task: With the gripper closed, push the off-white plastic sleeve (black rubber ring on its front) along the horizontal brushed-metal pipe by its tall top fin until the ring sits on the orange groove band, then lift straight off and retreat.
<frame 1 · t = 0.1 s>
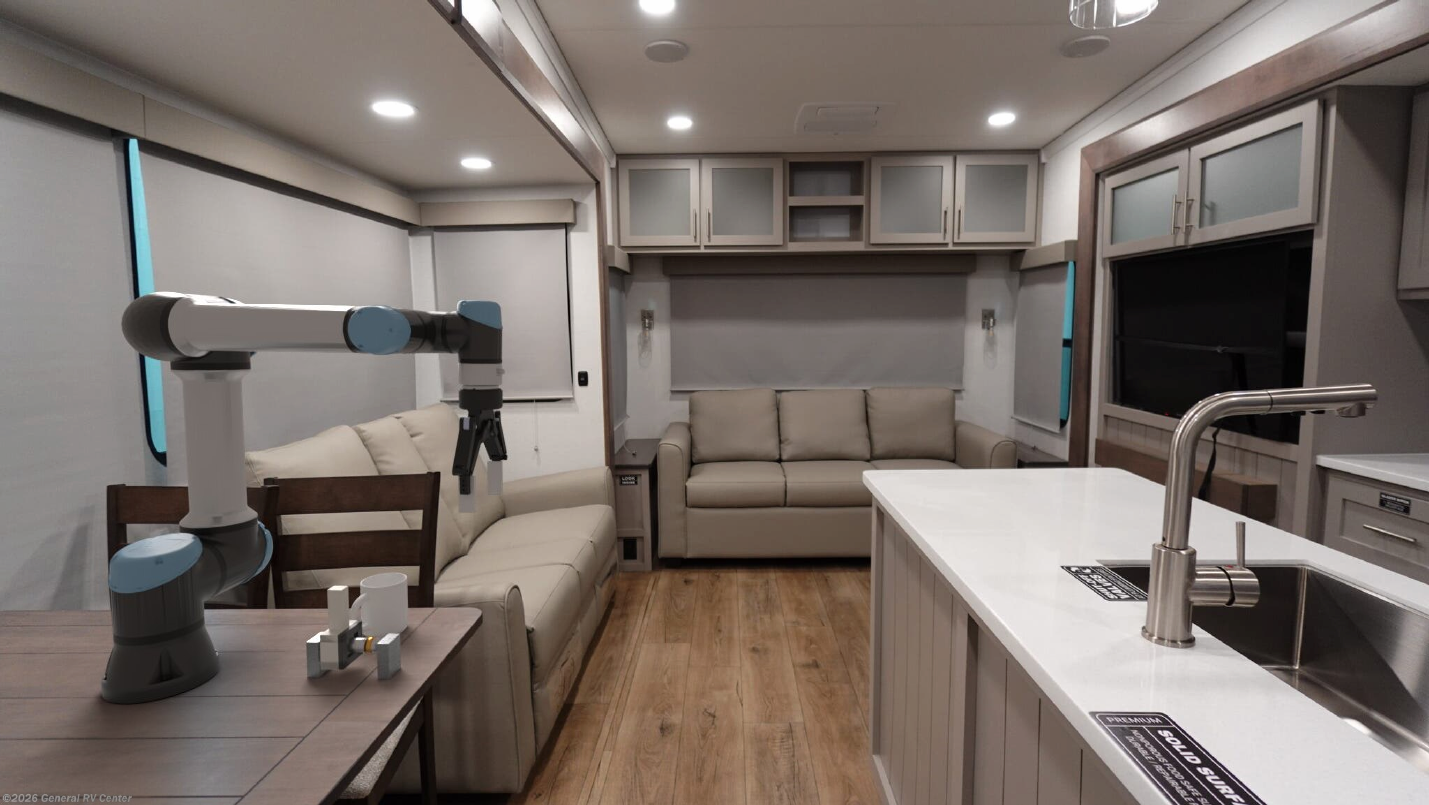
hand: (482, 503, 120), 28 cm above the table, fingers open, 13 cm apart
mug: (377, 635, 129), on the table
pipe: (354, 672, 113), on the table
sleeve: (341, 624, 113), point 8 cm above the table, slide at 0.0 cm
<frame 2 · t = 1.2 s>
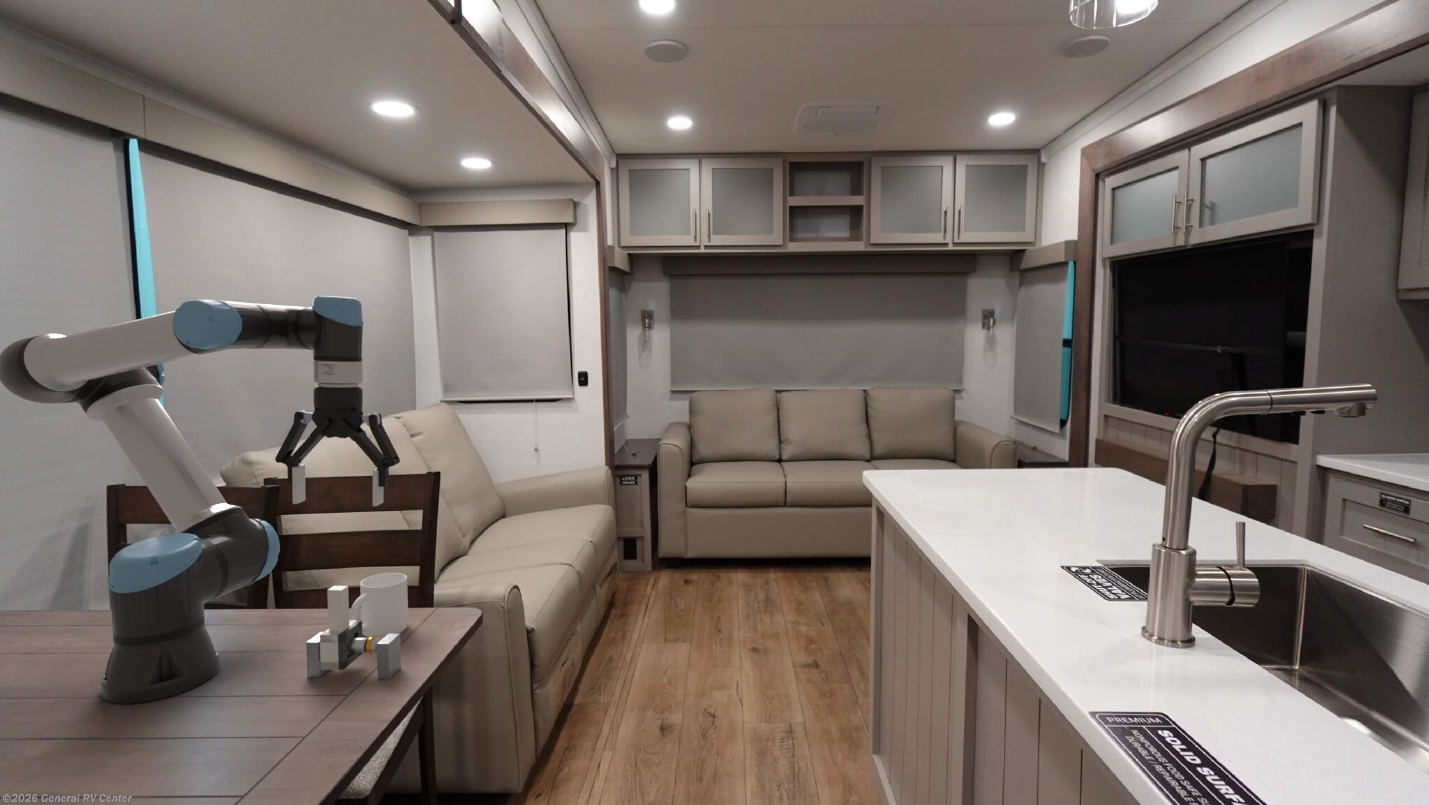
hand: (338, 503, 118), 28 cm above the table, fingers open, 13 cm apart
nothing on the table moved.
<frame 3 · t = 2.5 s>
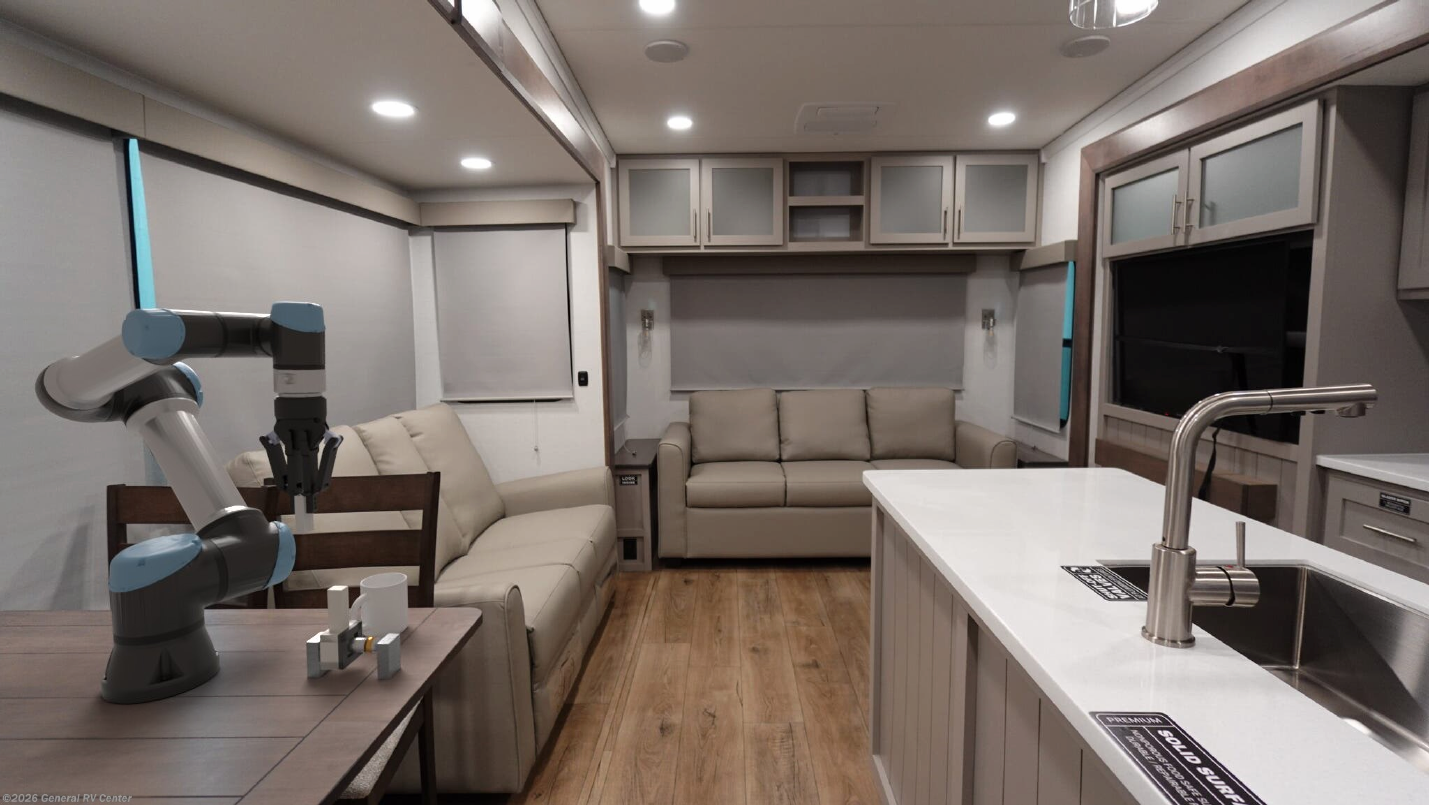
hand: (304, 531, 113), 24 cm above the table, fingers closed
nothing on the table moved.
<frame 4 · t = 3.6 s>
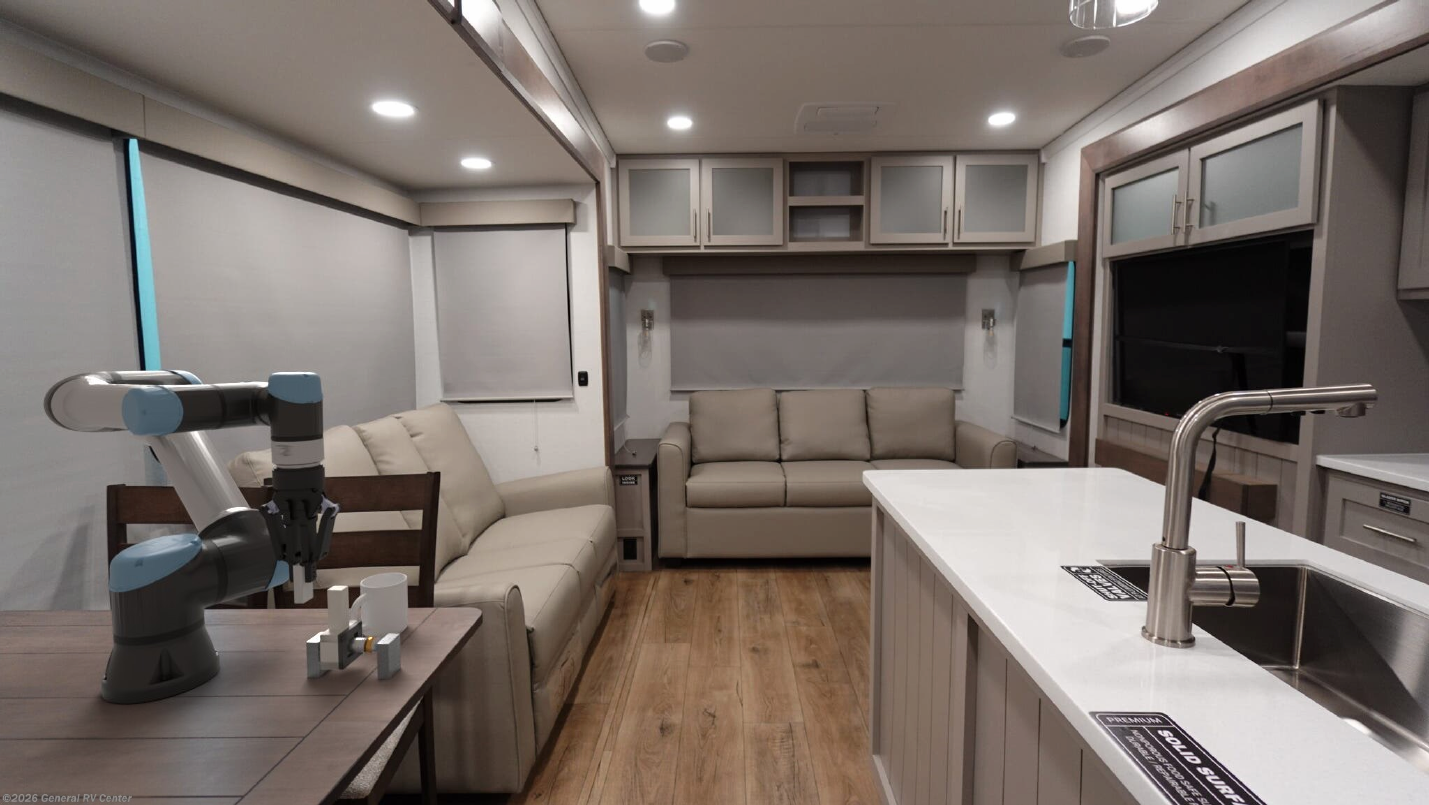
hand: (303, 600, 112), 13 cm above the table, fingers closed
nothing on the table moved.
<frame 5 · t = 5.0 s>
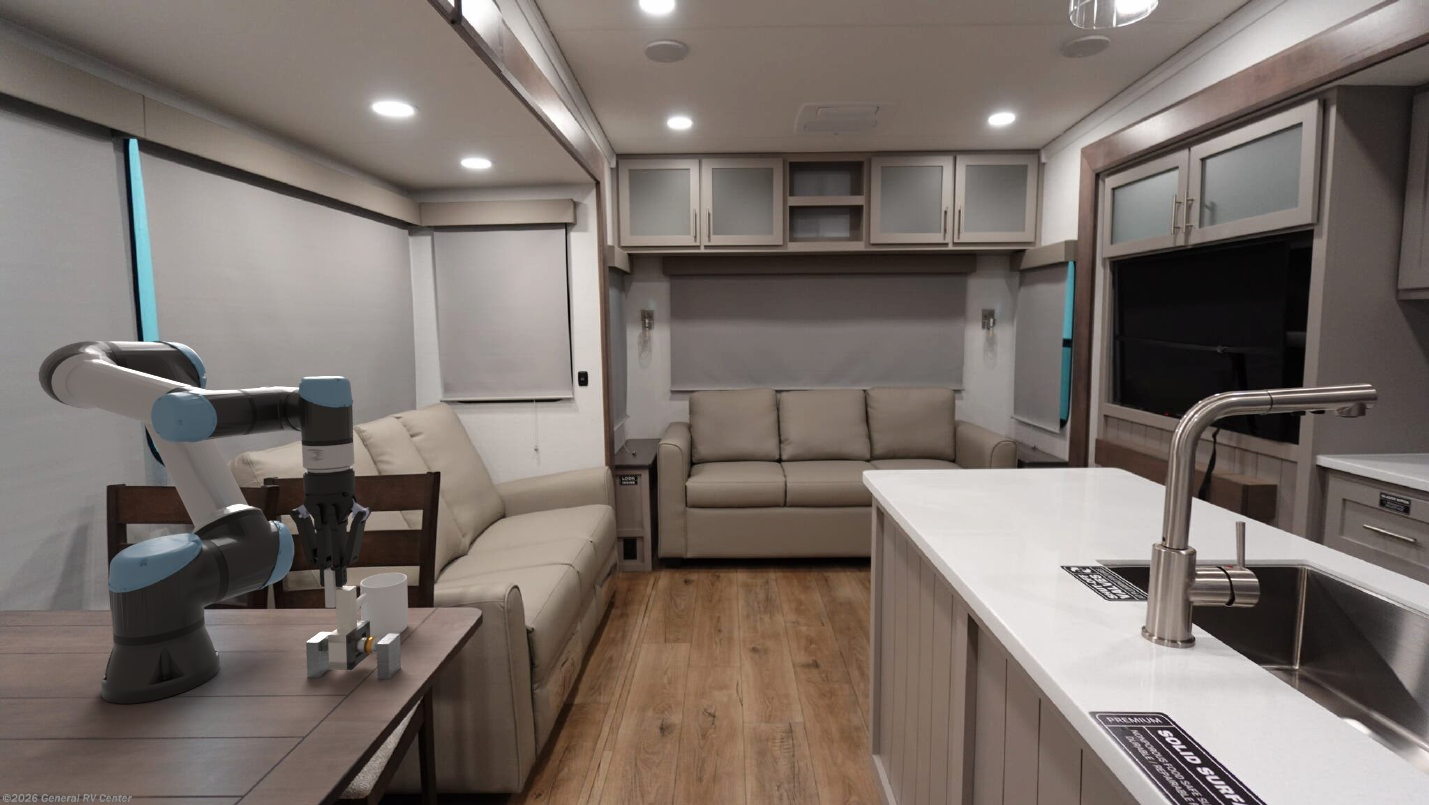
hand: (334, 604, 112), 12 cm above the table, fingers closed
sleeve: (349, 624, 113), point 9 cm above the table, slide at 1.4 cm, touching gripper
everything else where it was.
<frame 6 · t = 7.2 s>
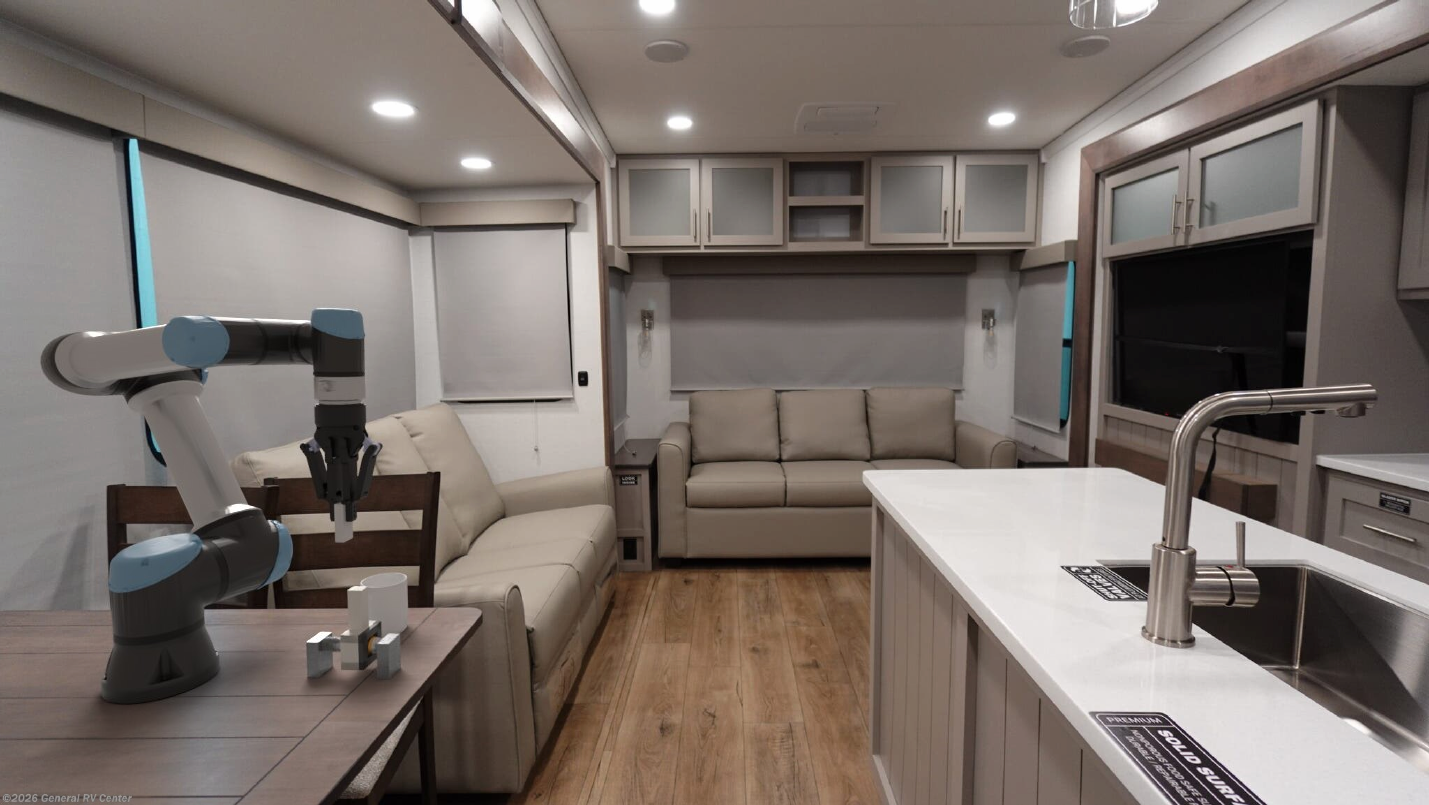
hand: (344, 539, 111), 23 cm above the table, fingers closed
sleeve: (361, 625, 113), point 8 cm above the table, slide at 3.4 cm
everything else where it was.
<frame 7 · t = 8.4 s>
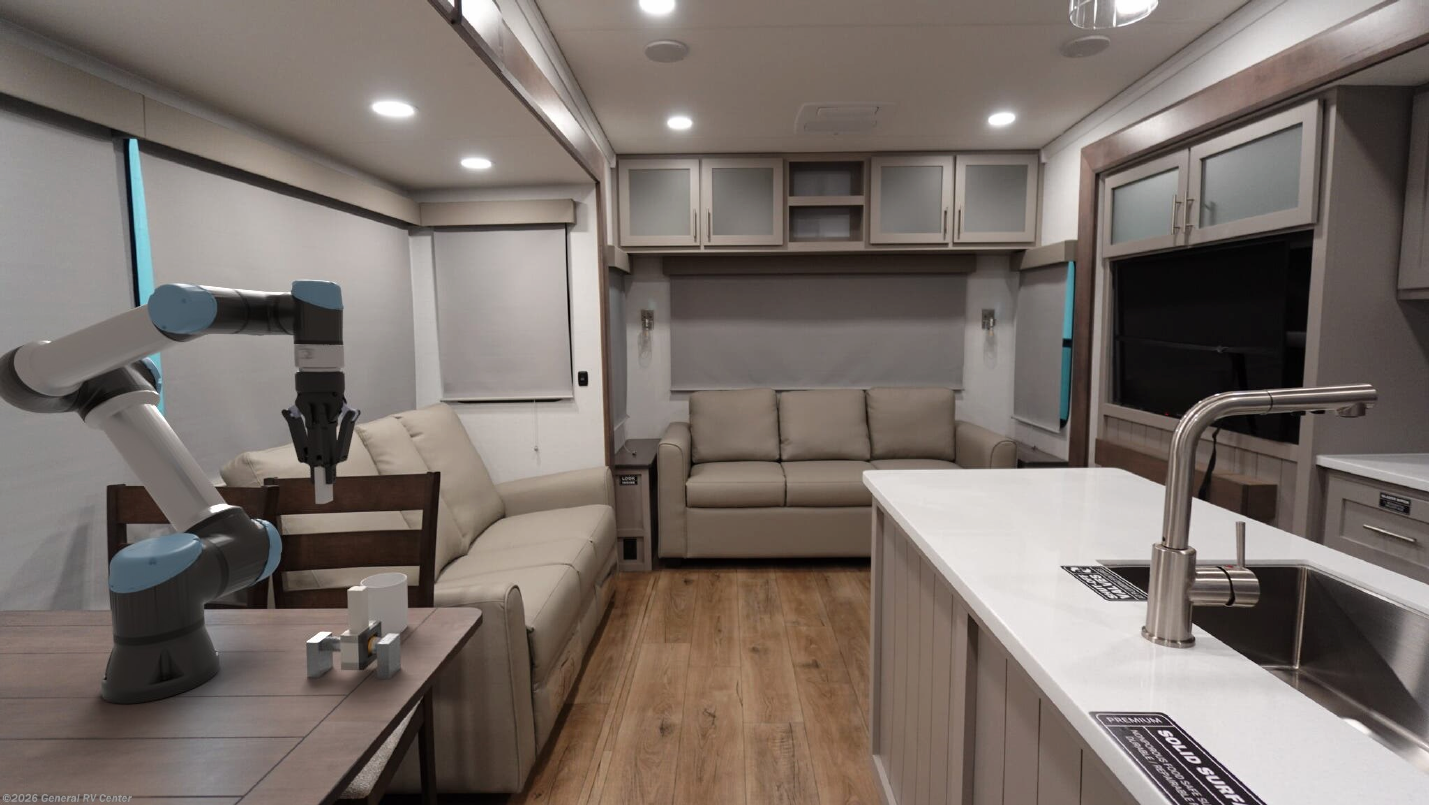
hand: (324, 501, 117), 28 cm above the table, fingers closed
nothing on the table moved.
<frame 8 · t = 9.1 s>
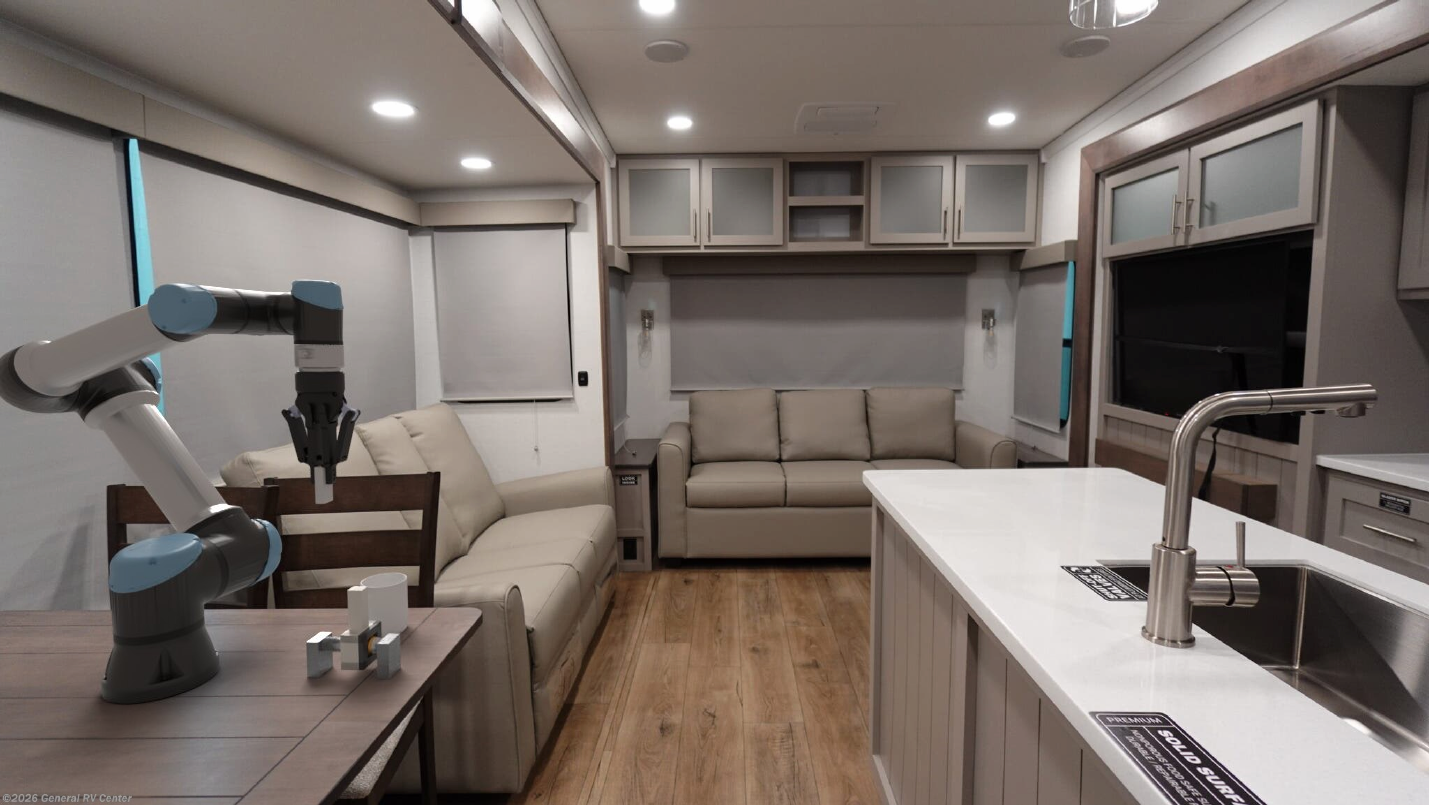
hand: (324, 501, 117), 28 cm above the table, fingers closed
nothing on the table moved.
at the end: sleeve slide at 3.4 cm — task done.
